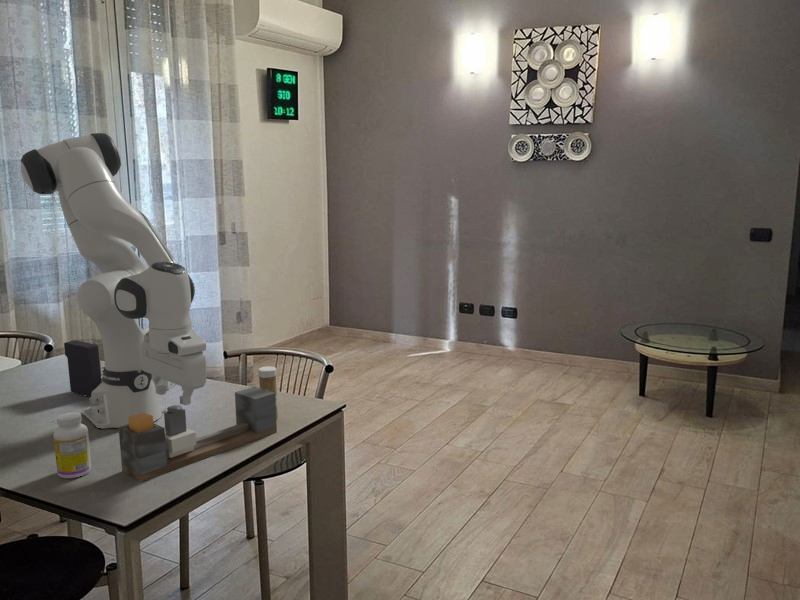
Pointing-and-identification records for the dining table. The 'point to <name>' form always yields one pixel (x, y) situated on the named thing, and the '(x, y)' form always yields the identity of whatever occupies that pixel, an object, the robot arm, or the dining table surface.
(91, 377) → the black rectangular box
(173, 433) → the carriage
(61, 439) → the supplement bottle
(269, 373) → the sprinkles bottle
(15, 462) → the dining table surface
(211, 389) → the dining table surface
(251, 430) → the rail frame
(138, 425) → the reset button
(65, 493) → the dining table surface
